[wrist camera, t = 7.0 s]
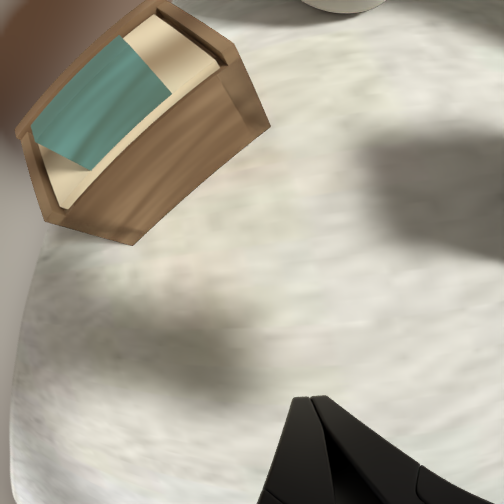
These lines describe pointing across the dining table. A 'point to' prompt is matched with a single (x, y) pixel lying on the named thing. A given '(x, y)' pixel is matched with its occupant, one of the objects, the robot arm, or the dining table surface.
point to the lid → (115, 103)
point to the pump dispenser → (344, 5)
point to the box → (155, 138)
